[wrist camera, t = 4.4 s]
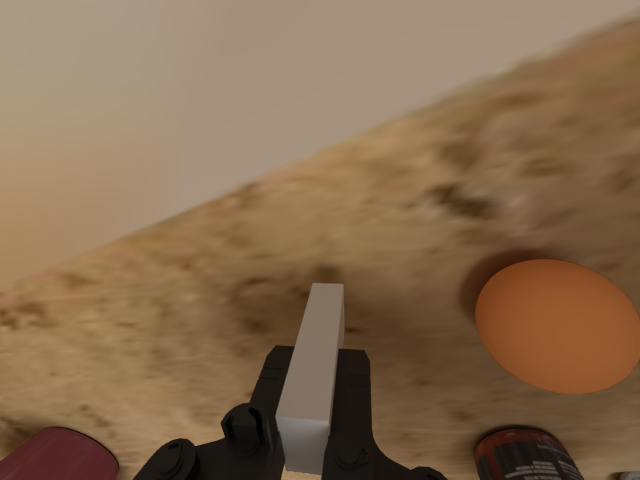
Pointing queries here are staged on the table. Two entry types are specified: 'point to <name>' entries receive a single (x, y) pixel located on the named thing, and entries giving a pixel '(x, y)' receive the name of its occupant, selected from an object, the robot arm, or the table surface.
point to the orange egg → (559, 326)
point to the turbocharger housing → (630, 476)
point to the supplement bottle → (524, 457)
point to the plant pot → (59, 458)
